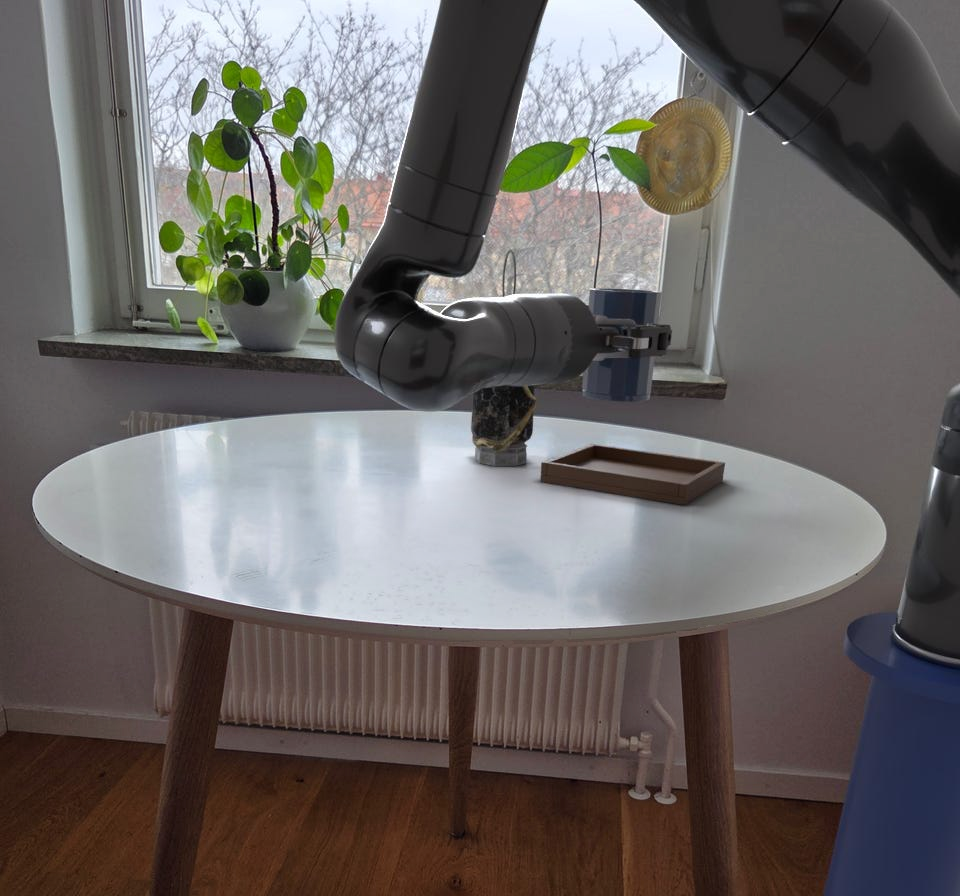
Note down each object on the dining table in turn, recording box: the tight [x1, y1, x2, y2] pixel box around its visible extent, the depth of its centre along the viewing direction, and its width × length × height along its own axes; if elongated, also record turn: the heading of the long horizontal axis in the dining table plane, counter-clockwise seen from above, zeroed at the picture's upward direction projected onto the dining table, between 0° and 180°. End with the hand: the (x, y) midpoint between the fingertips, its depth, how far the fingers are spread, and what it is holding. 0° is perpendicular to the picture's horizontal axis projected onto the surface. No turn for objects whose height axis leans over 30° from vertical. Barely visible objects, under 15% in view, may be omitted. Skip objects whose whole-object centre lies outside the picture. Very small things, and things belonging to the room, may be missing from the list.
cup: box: [581, 287, 662, 403], centre depth 92 cm, size 7×7×10 cm
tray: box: [539, 443, 726, 506], centre depth 111 cm, size 18×15×2 cm
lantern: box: [470, 249, 537, 467], centre depth 115 cm, size 9×8×25 cm
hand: (632, 333), depth 93 cm, fingers closed on cup, 7 cm apart
